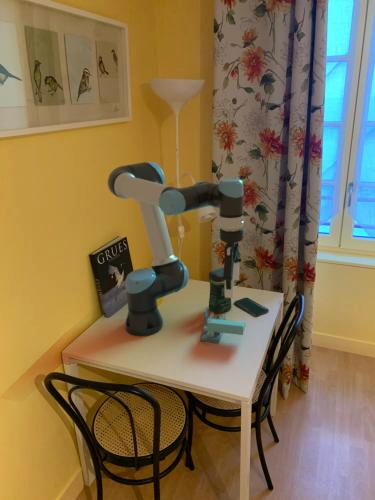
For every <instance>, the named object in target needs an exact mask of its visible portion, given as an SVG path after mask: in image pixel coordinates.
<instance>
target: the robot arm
mask: <svg viewBox="0 0 375 500" xmlns="http://www.w3.org/2000/svg"><path fill="white" fill-rule="evenodd" d="M109 173H110V174H109V175H108V178H107V187H108V190H109V191H110V192H111V194H112V195H114V196H115V197H117V198H120V199H123V200H124V199H125V200H126V199H133V200H134V201H136V202H137V203H139V207H140V213H141V216H142V220H143V225H144V227H145V231H146V236H147V240H148V244H149V247H150V248H149V249H150V251H151V256H152V259H153V260H152V262H151V264H150V266H151V268H149V267H144V268H143V267H142V268H137V269H135V270H133V271H131V272H130V273H128V274H127V275H126V278H125V291H126V301H127V314H126V318H125V322H124V323H125V330H126V332H127V333H128V334H131V335H133V336H136V337H137V336H138V337H140V336H141V337H143V336H144V337H146V336H151V335H154V334H156V333H158V332H159V331H161V330H162V329H163V327H164V319H163V317H162V314H161V312H160V309H159V308H158V300H160V299H161V298H164V297H166V296H169V295H171V294H173V293H177V292H179V291H181V290H183V289H184V288H186V286H187V284H188V282H189V271H188V268H187V266H186V265H185V263H184V262H182V261H180V260H179V257H177V256H176V255H175V254H174V250H173V246H172V242H171V238H170V235H169V230H168V226H167V222H166V219H165V216H177V215H180V214H184V213H188V212H190V211H193V210H197V209H202V208H206V207H214V208H219V223H218V224H219V228H220V229H219V239H220V241H222V242H224V243H226V244H225V246H224V262H223V267H224V276H223V277H222V280H225V297H227V298H231V299H233V298H234V281H240V263H242V259H241V256H240V246H239V245H240V244H239V243H240V242H242V241H243V240H244V228H243V227H244V222H245V221H246V218H245V217H244V195H245V192H244V182H243V181H242V180H241V178H234V177H233V178H231V177H230V178H229V177H227V178H222V179H220V180H219V181H218V183H215V182H211V181H207V180H205V181H201V180H200V181H196V182H195V183H194V184H193V185H190V186H186V187H174V186H172V185H166V183H165V182H166V177H165V174H164V173H165V172H164V171H163V169H162V167H161V166H159V165H158V164H157V163H156V162H154V161H148V162H147V161H145V162H139V163H132V164H128V165H127V164H125V165H121V166H120V165H119V166H118V167H115V168H114V169H113V170H112V171H111V172H109Z"/></svg>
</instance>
